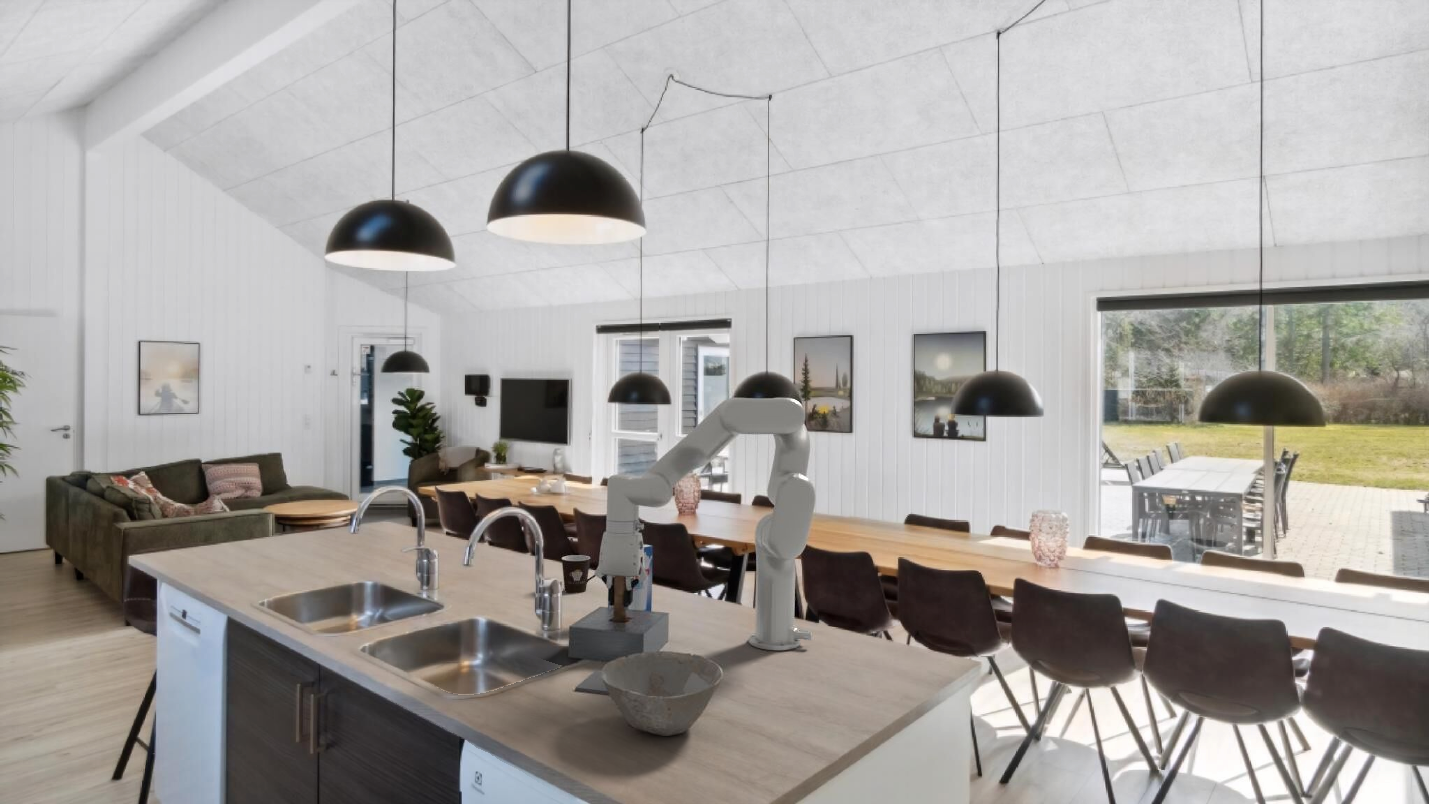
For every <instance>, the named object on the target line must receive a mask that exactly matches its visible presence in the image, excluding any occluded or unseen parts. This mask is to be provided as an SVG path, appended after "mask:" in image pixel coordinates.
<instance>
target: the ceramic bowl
mask: <svg viewBox="0 0 1429 804" xmlns="http://www.w3.org/2000/svg"><path fill="white" fill-rule="evenodd" d="M601 668H602V669H601V670H600V672H601V678H602V680H603V682H604V685H605V687H606V689H607V691H608V693H609V694H610V695H609V694H608V695H609V696H610V699H612V702H613V703H614V705H615V707H617V710H618V711H619V712H620V714H621V716H623V718H624V719H625V720H626V722H627V723H628V724H629V725H630V726H632V727H633V728H635V729H637V730H639V731H643V732H645V733H650V734H653V735H658V736H662V737H670V736H675V735H680V734H683V733H685V732H687V731H688V730H689V729H690V728H691V727H693V725H694V724H695V723H696V722H697V720H698V719H699V718H701V716H702V714H703V713H704V711H706V708H707V706H708V705H709V702H710V701H711V699H712V697H713V695H714V693H715V692H716V690H717V688H718V686H719V685H720V683H721V681H722V680H723V678H724V672H723V669H722V668H721V666H720V665H719V664H717V663H716V662H714V661H712V660H710V659H709V658H707V657H704V656H703V655H699V654H695V653H694V654H691V652H690V653H685V652H677V651H665V650H662V651H661V650H659V651H657V652H654V651H653V652H652V653H650V652H643V653H641V654H639V653H636V654H632V655H628V657H625V656H624V657H620V658H617V659H615V660H613V661H610V662H607V663H606V664H604V666H603V667H601Z"/></svg>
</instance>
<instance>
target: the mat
mask: <svg viewBox="0 0 1429 804" xmlns="http://www.w3.org/2000/svg"><path fill="white" fill-rule="evenodd" d="M575 691H578V692H586V693H594V694H602V695H609V696H610V694H609V693H608V691H607V689H606V687H605V685H604V682H603V680H602V678H601V670H600V671H599V670H595V671H593V672H592V673H591V674H590V675H588V676H587V677H586V678H585V679H584V680H582V682H580V683H579V684H578V685H577V686H575Z"/></svg>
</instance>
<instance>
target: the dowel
mask: <svg viewBox="0 0 1429 804" xmlns="http://www.w3.org/2000/svg"><path fill="white" fill-rule="evenodd" d="M624 590H626V577H622V576H614V612H613V622H621V623H626V607H624Z"/></svg>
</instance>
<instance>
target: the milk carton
mask: <svg viewBox="0 0 1429 804" xmlns="http://www.w3.org/2000/svg"><path fill="white" fill-rule="evenodd" d="M643 546H644V560H645V568H644V569H645V571H646V573H647V575H648V578H647V579H646V580H644V581H642V582H640V583H638V584H637V585H636V586H635V587H634V588H633V602H632V603H631V605H629V606H628V607H626V609H631V610H642V611H652V604H653V603H652V601H653V599H652V598H653V596H652V595H653V556H654V555H653V551H654V550H653V549H654V546H653V545H652V544H651V545H650V544H646V543H643ZM639 576H640V574H638V576H636V577H635V579H636V578H638V577H639ZM607 607H610V608H614V605H612V606H610V605H609V601H608V600H607Z"/></svg>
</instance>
